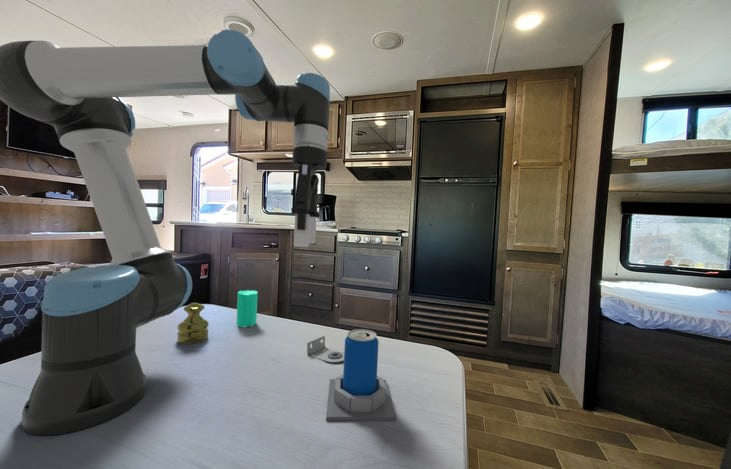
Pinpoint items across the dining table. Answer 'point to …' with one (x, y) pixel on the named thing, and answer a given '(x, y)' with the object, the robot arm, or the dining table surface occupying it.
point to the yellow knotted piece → (193, 325)
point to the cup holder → (359, 403)
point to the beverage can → (360, 362)
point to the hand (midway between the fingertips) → (305, 244)
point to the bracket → (326, 356)
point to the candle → (247, 308)
